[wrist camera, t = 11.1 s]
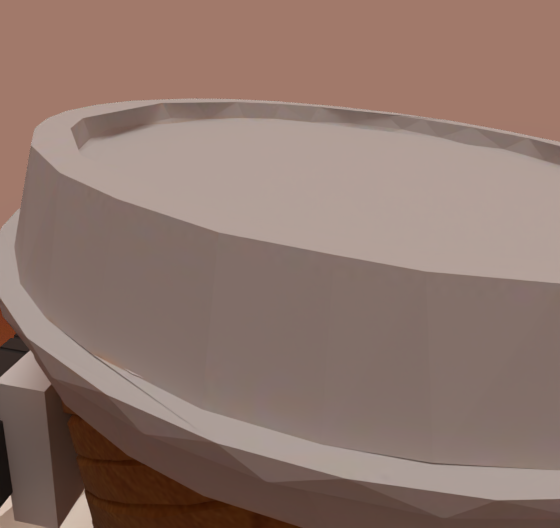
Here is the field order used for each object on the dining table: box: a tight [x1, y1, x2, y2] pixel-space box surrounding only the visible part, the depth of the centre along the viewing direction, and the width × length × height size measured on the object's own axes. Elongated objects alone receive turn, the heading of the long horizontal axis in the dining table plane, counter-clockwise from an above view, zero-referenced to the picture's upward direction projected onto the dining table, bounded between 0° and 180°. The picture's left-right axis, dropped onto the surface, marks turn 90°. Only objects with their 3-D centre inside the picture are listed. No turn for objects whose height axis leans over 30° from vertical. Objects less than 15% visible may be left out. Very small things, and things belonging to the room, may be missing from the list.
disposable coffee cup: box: [0, 99, 560, 528], centre depth 9 cm, size 10×10×12 cm
